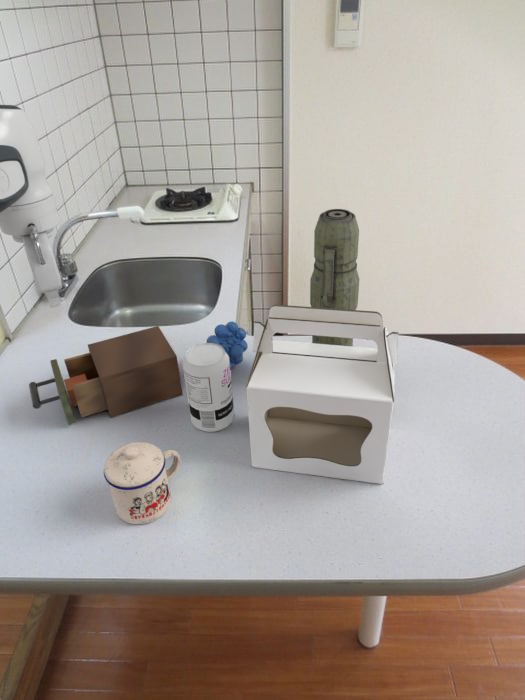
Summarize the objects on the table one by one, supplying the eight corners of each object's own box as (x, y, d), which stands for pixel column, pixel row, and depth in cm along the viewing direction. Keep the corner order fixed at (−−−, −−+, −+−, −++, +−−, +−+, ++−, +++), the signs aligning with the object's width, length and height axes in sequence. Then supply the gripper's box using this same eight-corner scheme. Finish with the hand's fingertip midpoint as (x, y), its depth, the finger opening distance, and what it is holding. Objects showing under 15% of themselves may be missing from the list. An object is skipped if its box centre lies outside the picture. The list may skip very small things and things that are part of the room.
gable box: (250, 467, 89) (239, 326, 73) (266, 416, 99) (259, 283, 83) (384, 485, 84) (404, 339, 68) (386, 429, 95) (403, 292, 79)
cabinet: (110, 418, 101) (100, 378, 95) (97, 382, 110) (87, 344, 105) (183, 394, 106) (176, 355, 100) (164, 362, 115) (158, 325, 110)
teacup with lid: (133, 537, 78) (118, 484, 71) (104, 502, 84) (88, 449, 77) (198, 493, 84) (190, 441, 78) (167, 463, 90) (157, 412, 84)
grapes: (224, 392, 106) (219, 342, 99) (201, 379, 109) (194, 331, 103) (262, 364, 113) (259, 317, 106) (238, 354, 117) (235, 307, 110)
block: (72, 407, 101) (67, 390, 98) (69, 395, 104) (63, 379, 101) (93, 400, 102) (88, 384, 100) (89, 389, 105) (84, 373, 103)
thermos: (355, 364, 112) (366, 202, 92) (349, 399, 102) (361, 227, 83) (313, 360, 114) (316, 200, 94) (304, 394, 104) (305, 225, 84)
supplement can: (187, 410, 101) (177, 346, 93) (228, 401, 103) (222, 337, 95) (195, 438, 95) (185, 372, 86) (239, 428, 97) (234, 361, 88)
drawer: (41, 433, 96) (29, 401, 92) (35, 399, 105) (23, 367, 101) (139, 403, 103) (132, 371, 98) (125, 372, 111) (118, 341, 107)
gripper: (58, 232, 75) (80, 315, 83) (41, 194, 91) (62, 267, 99) (11, 241, 73) (39, 325, 81) (2, 201, 89) (26, 275, 97)
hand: (51, 293), depth 90 cm, fingers open, 8 cm apart
